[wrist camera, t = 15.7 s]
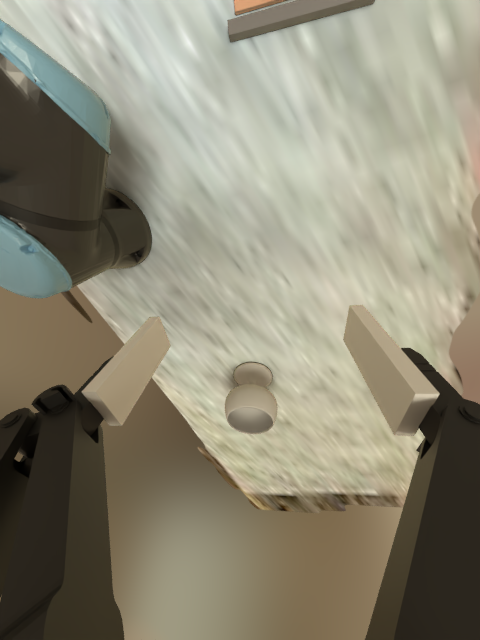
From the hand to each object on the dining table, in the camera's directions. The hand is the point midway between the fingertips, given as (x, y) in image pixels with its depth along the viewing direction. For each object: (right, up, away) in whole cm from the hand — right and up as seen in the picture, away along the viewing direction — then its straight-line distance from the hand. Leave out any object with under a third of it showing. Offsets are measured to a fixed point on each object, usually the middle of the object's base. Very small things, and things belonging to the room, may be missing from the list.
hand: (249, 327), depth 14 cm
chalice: (+3, -17, +49) cm, 51 cm away
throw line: (+7, +40, +12) cm, 42 cm away
